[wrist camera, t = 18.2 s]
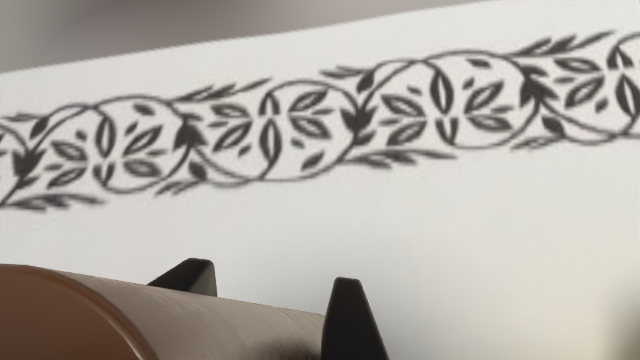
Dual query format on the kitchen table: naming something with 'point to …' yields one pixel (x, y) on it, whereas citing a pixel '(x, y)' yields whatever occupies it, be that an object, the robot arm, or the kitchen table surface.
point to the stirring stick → (141, 322)
